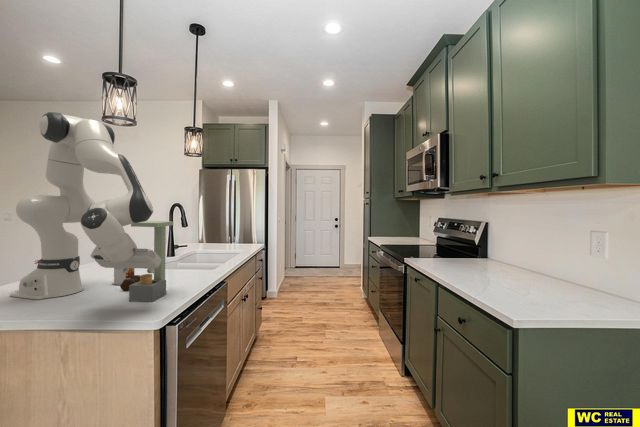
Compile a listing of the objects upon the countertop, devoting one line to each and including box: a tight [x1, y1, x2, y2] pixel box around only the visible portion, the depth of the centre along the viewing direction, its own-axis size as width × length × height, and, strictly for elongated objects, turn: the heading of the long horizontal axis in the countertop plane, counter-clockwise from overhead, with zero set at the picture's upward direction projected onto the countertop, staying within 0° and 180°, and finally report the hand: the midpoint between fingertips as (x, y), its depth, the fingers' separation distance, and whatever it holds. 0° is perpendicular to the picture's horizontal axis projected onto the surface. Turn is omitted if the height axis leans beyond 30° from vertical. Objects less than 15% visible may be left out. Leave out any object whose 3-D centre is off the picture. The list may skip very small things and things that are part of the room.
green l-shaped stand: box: [130, 220, 174, 280], centre depth 115 cm, size 10×12×30 cm
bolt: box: [119, 274, 140, 293], centre depth 127 cm, size 6×5×15 cm
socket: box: [128, 279, 167, 303], centre depth 113 cm, size 9×9×6 cm
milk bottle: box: [113, 268, 136, 286], centre depth 132 cm, size 8×8×20 cm
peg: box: [139, 273, 153, 285], centre depth 112 cm, size 4×4×9 cm
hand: (139, 271), depth 106 cm, fingers open, 8 cm apart
